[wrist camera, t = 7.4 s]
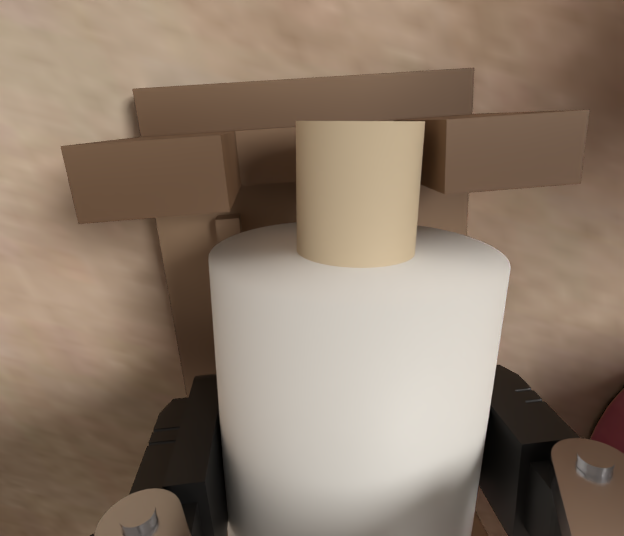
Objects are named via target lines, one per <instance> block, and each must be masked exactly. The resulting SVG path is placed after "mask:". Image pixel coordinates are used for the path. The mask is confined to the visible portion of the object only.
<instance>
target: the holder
mask: <svg viewBox="0 0 624 536" xmlns="http://www.w3.org/2000/svg"><path fill="white" fill-rule="evenodd" d="M473 84H474V68H462V69H446V70H430V71H414V72H397V73H381V74H365V75H349V76H332V77H316V78H300V79H284V80H268V81H251V82H235V83H219V84H203V85H187V86H170V87H154V88H138V89H133V95H134V101H135V106H136V112H137V118H138V123H139V129H140V134H141V137H135V138H126V139H118V140H110V141H101V142H93V143H85V144H76V145H68V146H61V150H62V155H63V159H64V163H65V167H66V172H67V176H68V180H69V185H70V189H71V193H72V198H73V202H74V206H75V210H76V215H77V219H78V223H79V224H84V223H96V222H108V221H121V220H133V219H146V218H155V219H156V225H157V231H158V236H159V242H160V247H161V253H162V259H163V264H164V270H165V276H166V281H167V287H168V293H169V298H170V304H171V310H172V315H173V321H174V327H175V332H176V338H177V344H178V349H179V355H180V360H181V366H182V372H183V377H184V383H185V389H186V394H187V398H188V397H189V394H190V390H191V387H192V383H193V380H194V377H195V376H200V375H210V374H216V361H215V346H214V332H213V318H212V304H211V290H210V276H209V262H208V258H209V253H210V251H211V250H212V248H213V247H214V246H216V245H217V244H218V243H220V242H221V241H223V240H224V239H227V238H229V237H231V236H233V235H236V234H239V233H242V232H245V231H249V230H252V229H256V228H261V227H266V226H271V225H277V224H285V223H293V222H297V219H296V121H425V130H424V143H423V156H422V169H421V182H420V195H419V208H418V221H417V225H420V226H426V227H432V228H437V229H442V230H446V231H450V232H454V233H458V234H462V235H465V236H467V216H468V194H469V192H481V191H494V190H506V189H519V188H531V187H544V186H556V185H569V184H581V177H582V168H583V160H584V152H585V144H586V136H587V128H588V120H589V112H590V110H569V111H541V112H514V113H487V114H472V106H473ZM227 536H228V530H227ZM471 536H488V534H487V533H486V531H485V529H484V527H483V525H482V523H481V521H480V519H479V517H478V515H477V514H476V512H475V513H474V520H473V527H472V533H471Z"/></svg>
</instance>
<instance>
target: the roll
mask: <svg viewBox="0 0 624 536" xmlns="http://www.w3.org/2000/svg"><path fill="white" fill-rule="evenodd" d="M424 130H425V121H296V219H297V222H293V223H285V224H277V225H271V226H266V227H261V228H256V229H252V230H249V231H245V232H242V233H239V234H236V235H233V236H231V237H229V238H227V239H224V240H223V241H221V242H220V243H218V244H217V245H216V246H214V247H213V248H212V250H211V251H210V253H209V258H208V262H209V276H210V290H211V304H212V318H213V332H214V346H215V361H216V375H217V389H218V403H219V417H220V431H221V445H222V459H223V471H224V481H225V491H226V502H227V512H228V528H227V530H228V536H471V533H472V527H473V520H474V513H475V506H476V500H477V493H478V486H479V479H480V472H481V466H482V459H483V452H484V445H485V439H486V432H487V425H488V418H489V411H490V405H491V398H492V391H493V384H494V378H495V371H496V364H497V357H498V350H499V344H500V337H501V330H502V323H503V317H504V310H505V303H506V296H507V289H508V283H509V276H510V269H511V266H510V262H509V260H508V259H507V258H506V256H505V255H504V254H503V253H501V252H500V251H499V250H497V249H496V248H494V247H492V246H491V245H488V244H486V243H484V242H482V241H479V240H477V239H474V238H471V237H468V236H465V235H462V234H458V233H454V232H450V231H446V230H442V229H437V228H432V227H426V226H420V225H417V221H418V208H419V195H420V182H421V169H422V156H423V143H424Z"/></svg>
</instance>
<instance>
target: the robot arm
mask: <svg viewBox="0 0 624 536" xmlns="http://www.w3.org/2000/svg"><path fill="white" fill-rule="evenodd" d="M479 486H480V488H481V489H482V491H483V493H484V494H485V496H486V498H487V500H488V501H489V503H490V505H491V507H492V508H493V510H494V512H495V514H496V515H497V517H498V519H499V521H500V522H501V524H502V526H503V527H504V529H505V531H506V533H507V534H508V536H624V453H622V452H621V451H619V450H617V449H615V448H614V447H611V446H609V445H607V444H604V443H602V442H598V441H595V440H590V439H585V438H580V437H579V436H578V435H577V434H576V433H575V432H574V431H573V430H572V429H571V428H570V427H569V426H568V425H567V424H566V423H565V422H564V421H563V420H562V419H561V418H560V417H559V416H558V415H557V414H556V413H555V412H554V411H553V410H552V409H551V408H550V407H549V406H548V405H547V404H546V403H545V402H542V399H541V398H540V397H539V395H538V394H537V393H536V392H535V391H534V390H533V391H532V390H531V387H530V386H529V385H528V384H527V383H526V382H525V381H524V380H523V379H522V378H521V377H520V376H519V375H518V374H516V373H514V372H512V371H510V370H508V369H506V368H505V367H503V366H501V365H496V371H495V378H494V384H493V391H492V398H491V405H490V411H489V418H488V425H487V432H486V439H485V445H484V452H483V459H482V466H481V472H480V479H479ZM227 528H228V512H227V502H226V491H225V481H224V471H223V459H222V445H221V431H220V417H219V403H218V389H217V375H216V374H210V375H200V376H195V377H194V380H193V383H192V387H191V390H190V394H189V397H188V398H179V399H173V400H172V401H171V402H170V403H169V404H168V405H167V406H166V407H165V408H164V409H163V410H162V412H161V413H160V414H159V416H158V419H157V422H156V424H155V427H154V432H153V433H152V435H151V438H150V440H149V446H147V448H146V451H145V454H144V456H143V459H142V462H141V464H140V467H139V470H138V472H137V475H136V478H135V480H134V483H133V486H132V488H131V491H130V494H129V495H128V496H126V497H124V498H123V499H121V500H119V501H118V502H117V503H115V504H114V505H113V506H112V507H111V508H109V509H108V510H107V512H106V513H105V514H104V515H103V516H102V518H101V519H100V521H99V523H98V525H97V527H96V530H95V533H94V534H92V535H90V536H227Z"/></svg>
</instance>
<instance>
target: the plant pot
mask: <svg viewBox="0 0 624 536" xmlns="http://www.w3.org/2000/svg"><path fill="white" fill-rule="evenodd" d="M590 440H595V441H598V442H602V443H604V444H607V445H609V446H611V447H614V448H615V449H617V450H619V451H621V452H622V453H624V388H623V389H622V391H621V392H620V393H619V394H618V395H617V396H616V397H615V398H614V399H613V401H612V402H611V403H610V405H609V406H608V407H607V408H606V410H605V412H604V413H603V415H602V417H601V418H600V420H599V422H598V423H597V425H596V427H595V429H594V431H593V433H592V435H591V438H590Z"/></svg>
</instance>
